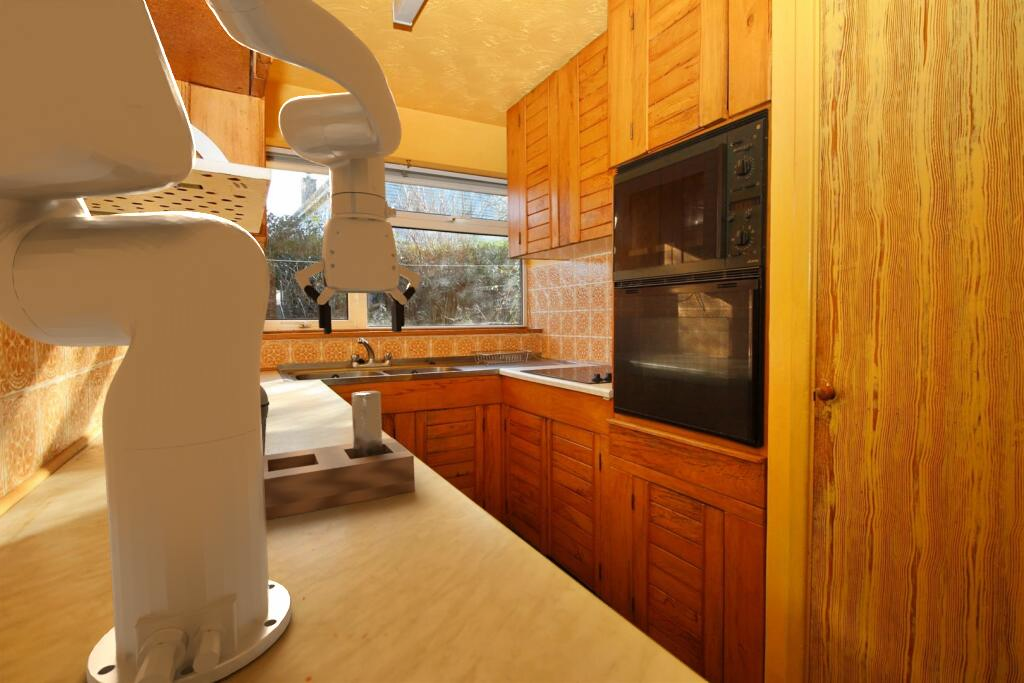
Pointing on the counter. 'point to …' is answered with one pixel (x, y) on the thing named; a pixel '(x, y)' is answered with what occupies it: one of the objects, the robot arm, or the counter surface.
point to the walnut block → (334, 477)
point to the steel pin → (367, 424)
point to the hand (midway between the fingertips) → (363, 332)
